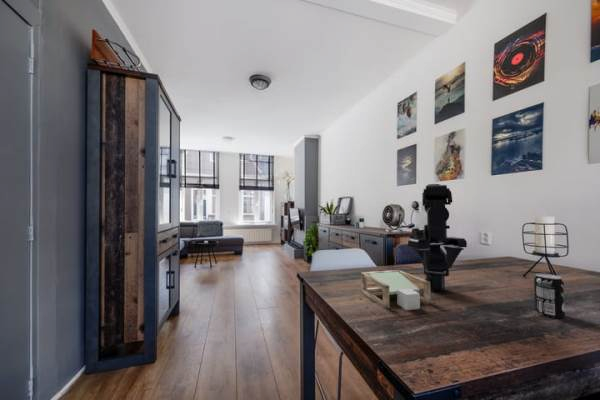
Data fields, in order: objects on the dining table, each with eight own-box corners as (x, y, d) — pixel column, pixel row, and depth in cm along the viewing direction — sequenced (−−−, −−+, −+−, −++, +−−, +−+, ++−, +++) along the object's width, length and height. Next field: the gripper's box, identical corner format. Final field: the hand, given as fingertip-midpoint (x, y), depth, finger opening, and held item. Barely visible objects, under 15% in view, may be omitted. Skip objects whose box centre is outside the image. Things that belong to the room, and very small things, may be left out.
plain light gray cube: (409, 288, 86) (419, 293, 81) (410, 302, 86) (419, 308, 81) (397, 289, 85) (406, 294, 80) (397, 304, 85) (406, 310, 80)
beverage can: (556, 311, 78) (554, 273, 79) (570, 320, 72) (569, 279, 73) (530, 308, 81) (529, 272, 81) (542, 317, 74) (541, 277, 75)
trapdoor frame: (400, 287, 102) (399, 269, 102) (431, 304, 85) (430, 282, 85) (360, 291, 98) (360, 272, 98) (385, 308, 81) (384, 285, 81)
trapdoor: (397, 273, 99) (398, 271, 99) (419, 291, 87) (419, 289, 87) (368, 275, 97) (368, 273, 96) (386, 294, 84) (387, 292, 84)
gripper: (441, 220, 92) (442, 262, 92) (397, 221, 88) (398, 264, 88) (467, 222, 82) (468, 269, 81) (419, 223, 77) (420, 272, 77)
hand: (437, 268), depth 82 cm, fingers open, 9 cm apart
